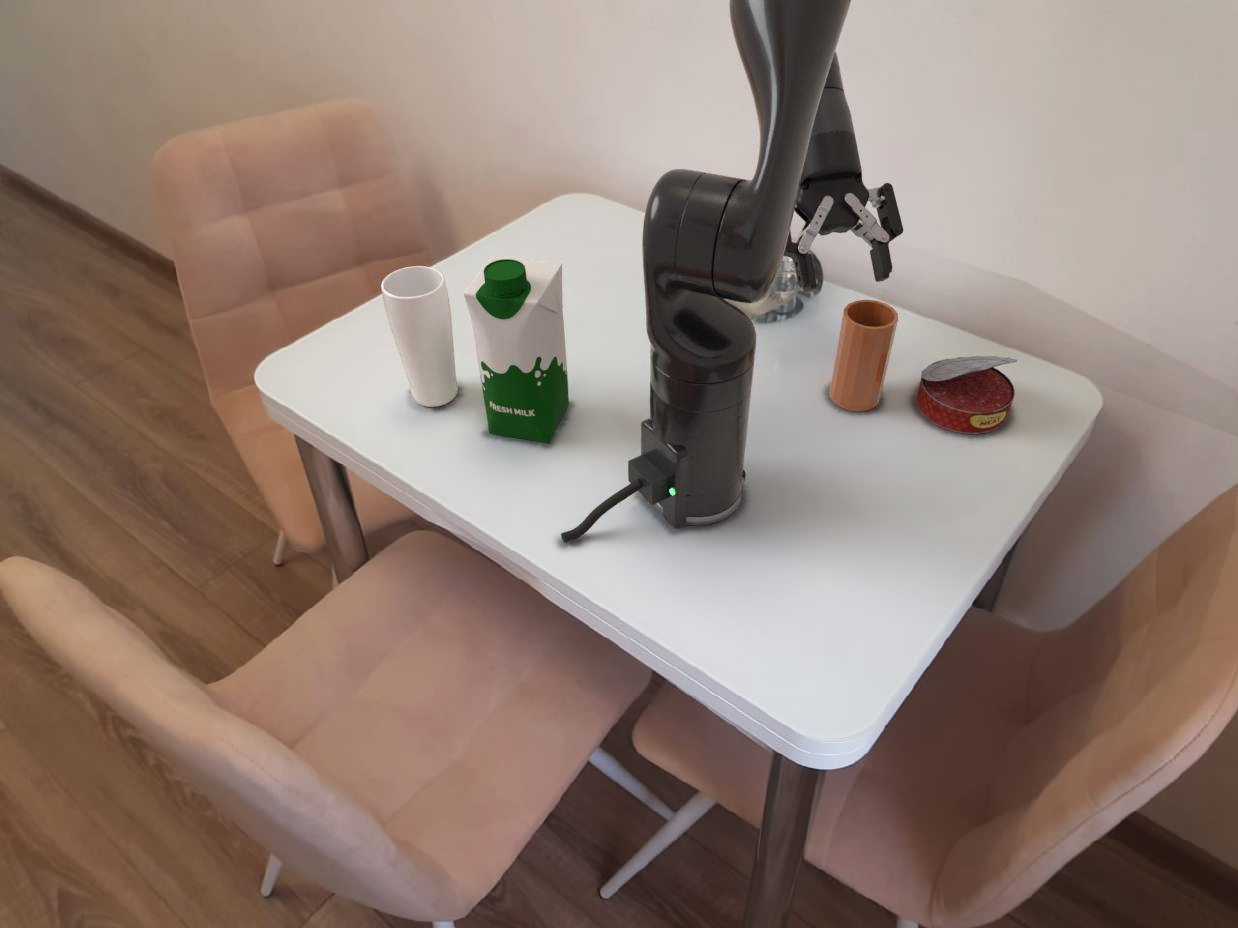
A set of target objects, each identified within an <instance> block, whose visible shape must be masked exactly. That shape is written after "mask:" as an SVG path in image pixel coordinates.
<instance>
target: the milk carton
mask: <svg viewBox="0 0 1238 928" xmlns="http://www.w3.org/2000/svg"><path fill="white" fill-rule="evenodd" d="M463 297H464V300H465V303H466V306H467V309H468V310H467V311H468V313H469V316H470V321H471V325H472V332H473V338H474V343H475V344H474V345H475V351H476V358H477V364H478V370H479V371H478V372H479V376H480V382H481V383H480V384H481V390H482V396H483V397H482V398H483V403H484V408H485V414H486V419H487V426H488V433H489V434H493V435H499V436H505V437H508V438H509V437H510V438H516V439H522V440H527V441H534V442H540V443H546V444H549V443H550V442H551V440H552V438H553V436H554V434H555V432H556V430H557V428H558V426H559V424H560V422H561V420H562V418H563V416H564V415H565V412H566V410H567V409H568V407H569V406H570V401H569V380H568V379H569V378H568V361H567V348H566V336H565V335H566V334H565V322H564V321H565V320H564V310H563V308H564V304H563V263H560V262H554V261H553V262H552V261H544V260H537V259H530V258H529V259H527V258H520V257H513V256H506V255H505V256H504V255H496V254H493V255H492V256H491V257H490V258H489V260H488V261H487V262H486V263H485V265H483V266H482V267H481V268H480V269H479V270H478V273H477V274H476V276H475V277H474V278H473V280H472V281H471V282H470V284H469V285H468V286H467V288H466V289H465V291H464V292H463Z"/></svg>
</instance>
